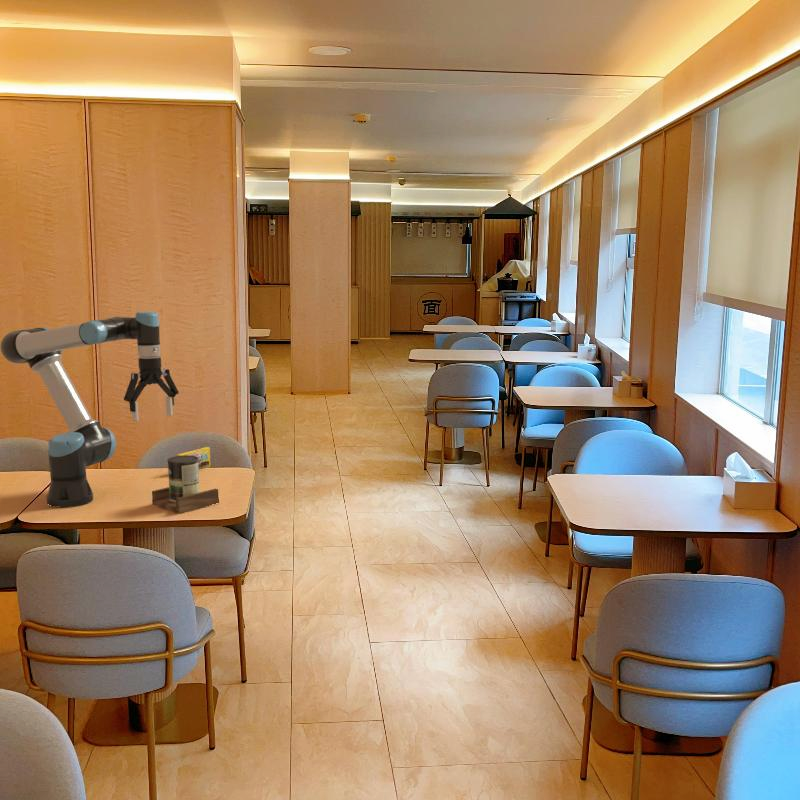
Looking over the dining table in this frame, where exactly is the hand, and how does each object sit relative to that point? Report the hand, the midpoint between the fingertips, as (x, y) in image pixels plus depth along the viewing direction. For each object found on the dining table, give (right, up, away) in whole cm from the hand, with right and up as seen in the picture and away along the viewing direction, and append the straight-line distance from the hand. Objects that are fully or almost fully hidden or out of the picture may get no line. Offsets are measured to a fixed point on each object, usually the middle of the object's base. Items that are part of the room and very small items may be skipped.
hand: (153, 418), depth 312 cm
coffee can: (+12, -28, -3) cm, 30 cm away
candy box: (+4, -22, +43) cm, 49 cm away
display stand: (+12, -30, -3) cm, 32 cm away
